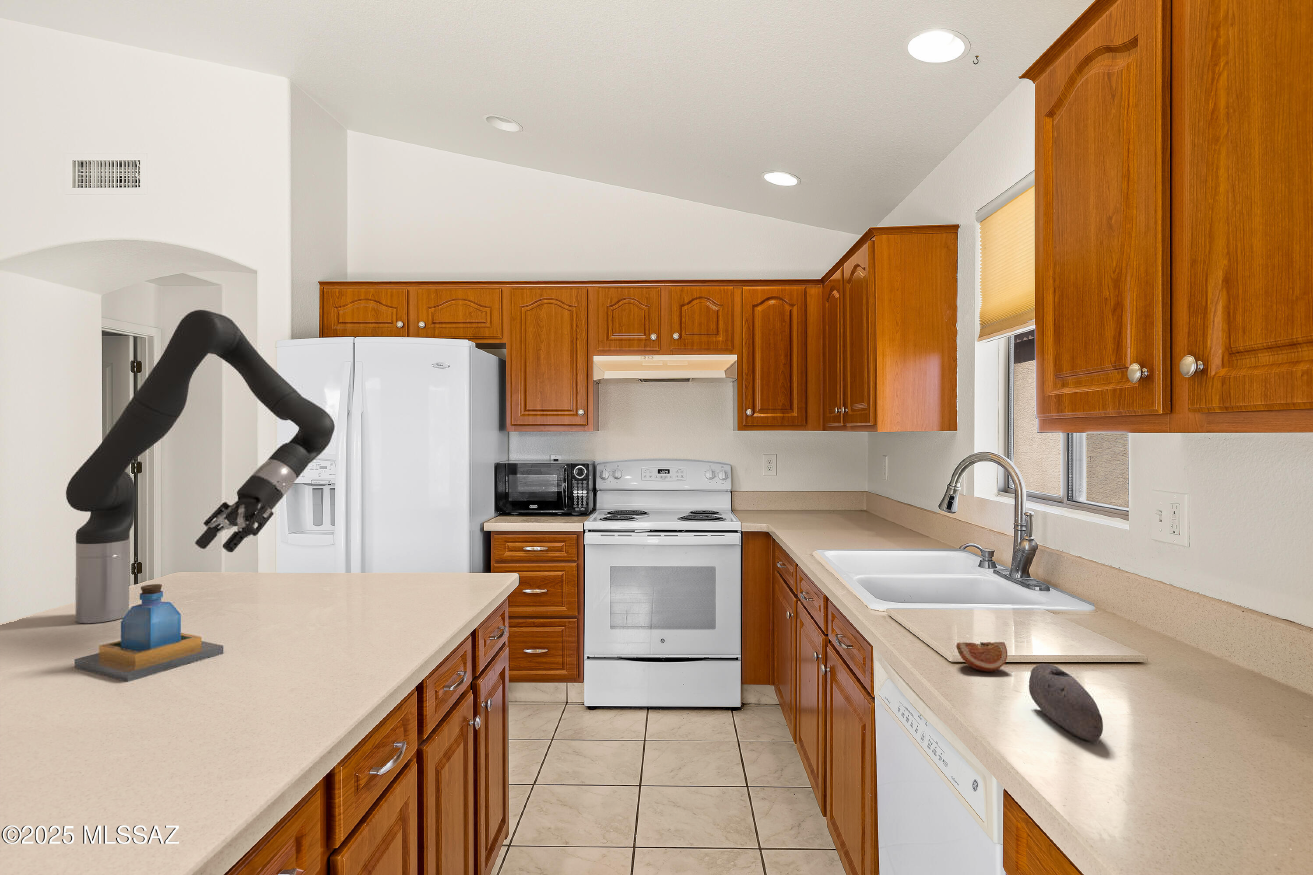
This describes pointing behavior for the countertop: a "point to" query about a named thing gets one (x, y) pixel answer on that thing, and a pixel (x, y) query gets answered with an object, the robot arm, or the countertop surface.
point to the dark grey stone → (1065, 701)
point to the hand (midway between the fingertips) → (212, 548)
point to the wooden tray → (146, 658)
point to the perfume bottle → (150, 622)
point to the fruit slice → (983, 655)
